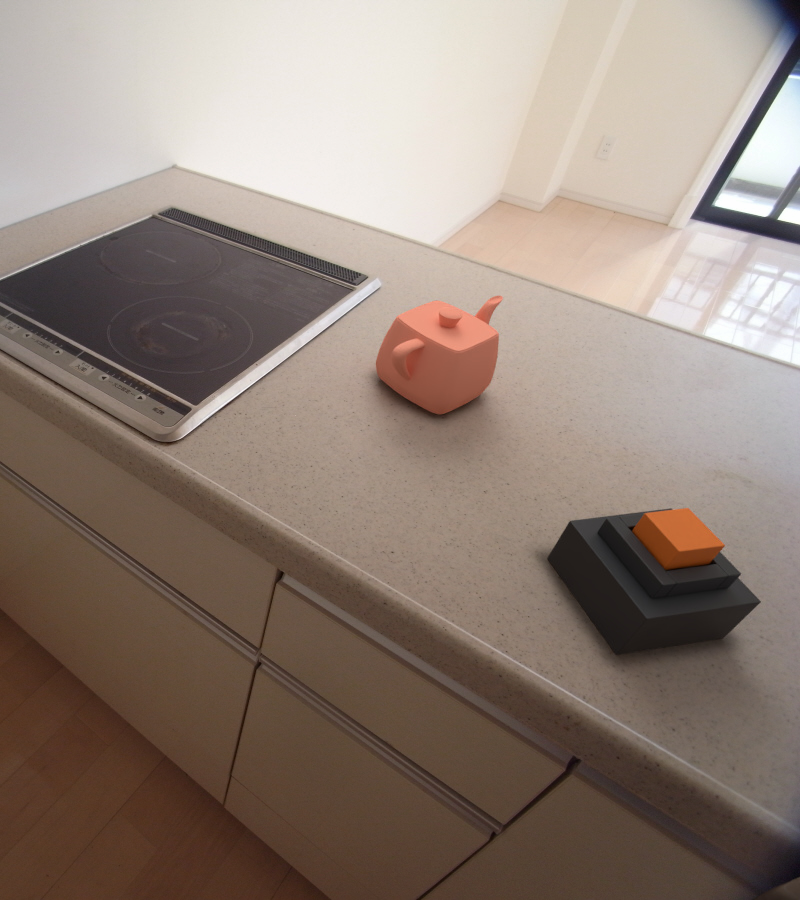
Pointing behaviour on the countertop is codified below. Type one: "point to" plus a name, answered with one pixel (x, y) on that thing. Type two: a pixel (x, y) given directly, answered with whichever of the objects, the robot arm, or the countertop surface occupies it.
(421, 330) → the teapot
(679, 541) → the key
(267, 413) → the countertop surface
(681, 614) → the push button box
